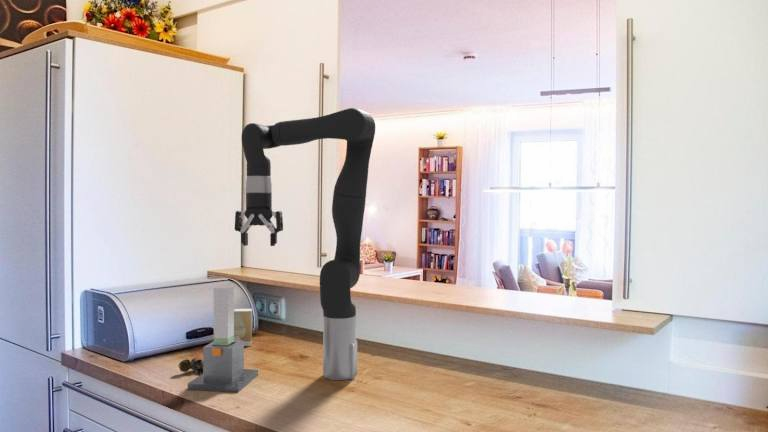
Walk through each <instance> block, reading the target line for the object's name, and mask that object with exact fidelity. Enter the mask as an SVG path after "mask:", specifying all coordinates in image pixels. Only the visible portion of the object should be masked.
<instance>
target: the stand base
mask: <svg viewBox="0 0 768 432" xmlns="http://www.w3.org/2000/svg"><path fill="white" fill-rule="evenodd" d="M244 348H245V346H244V341H239V340H234V344H232V345H231V346H229V347H225V346H214V340H212V341H211V342H210V343H208V344H207V345H204V346H203V357H202V358H203V362H204V368H203V372H204V373H203V374H201V375H198V376H197V377H196V378H194V379H192V380H191V381H189V382H188V383H187V390H189V391H190V390H192V391H195V390H196V391H209V392H211V391H213V392H214V391H215V392H228V393H239V392H240V391H241V390H243V388H245V387H246V386H247V385H249V383H251V382H252V381H253V380H254V379H256V377H258V376H259V369H251V368H250V369H248V368H245V351H244V350H245V349H244Z"/></svg>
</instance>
